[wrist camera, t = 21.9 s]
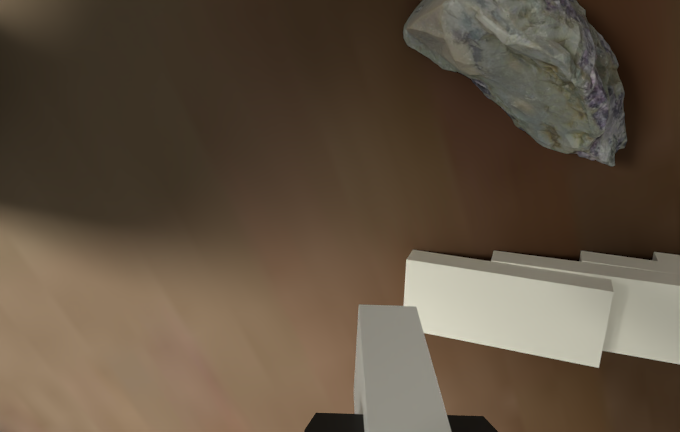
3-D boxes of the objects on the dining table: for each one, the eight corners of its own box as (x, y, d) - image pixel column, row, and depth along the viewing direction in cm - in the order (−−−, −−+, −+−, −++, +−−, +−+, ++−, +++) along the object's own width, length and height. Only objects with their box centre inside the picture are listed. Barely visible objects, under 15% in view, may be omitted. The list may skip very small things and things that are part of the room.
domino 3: (484, 329, 36) (692, 366, 32) (490, 260, 34) (710, 290, 30) (487, 316, 38) (685, 350, 34) (493, 250, 36) (702, 277, 32)
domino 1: (402, 328, 36) (598, 367, 32) (406, 259, 34) (613, 291, 31) (408, 315, 38) (596, 351, 34) (413, 249, 36) (610, 278, 32)
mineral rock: (615, 138, 34) (722, 179, 24) (449, 194, 35) (488, 254, 25) (571, -80, 30) (676, -134, 20) (386, -9, 31) (404, -28, 22)
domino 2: (570, 329, 36) (789, 370, 32) (581, 260, 34) (814, 293, 30) (569, 317, 38) (778, 354, 33) (580, 250, 36) (801, 280, 32)
